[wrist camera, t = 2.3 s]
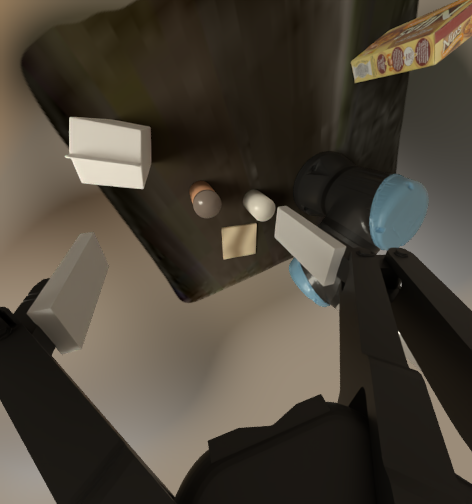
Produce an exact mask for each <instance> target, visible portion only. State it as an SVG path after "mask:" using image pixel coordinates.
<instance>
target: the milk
mask: <svg viewBox="0 0 472 504" xmlns="http://www.w3.org/2000/svg"><path fill="white" fill-rule="evenodd" d="M65 157H66V158H71V159H72V161H73V164H74V166H75V168H76V171H77V173H78V175H79V178H80V180H81V182H82V183H85V184H96V185H106V186H116V187H127V188H137V189H144V186H145V182H146V179H147V176H148V172H149V169H150V166H151V127H149V126H143V125H138V124H133V123H128V122H123V121H118V120H112V119H96V118H80V117H70V119H69V154H68V155H65Z"/></svg>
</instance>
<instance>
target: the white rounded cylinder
mask: <svg viewBox="0 0 472 504" xmlns="http://www.w3.org/2000/svg"><path fill="white" fill-rule="evenodd" d="M243 205H244V207H245V208H246V209H247V210H248V211H249V212H250V213H251V214H252V215H253V216H254V217H255V218H256V219H257V220H258V221H267V220H269V219H270V218H271V217H272V216H273V215H274V212H275V204H274V202H273V201H272V200H271V199H269V198H268V197H267V196H265V195H264V194H262V193H261V192H260V191H258V190H250V191H248V192H247V193H246V194H245V195H244V197H243Z"/></svg>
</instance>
